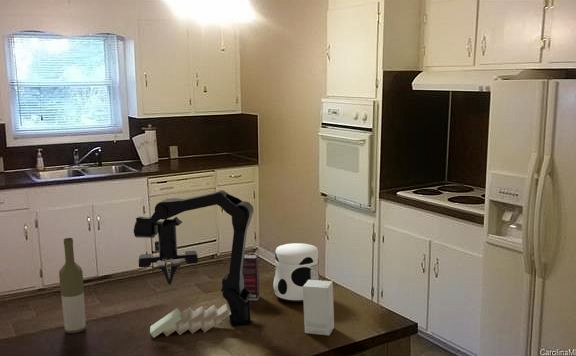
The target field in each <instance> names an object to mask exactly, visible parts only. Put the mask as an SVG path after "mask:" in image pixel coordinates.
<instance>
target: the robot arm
mask: <svg viewBox="0 0 576 356" xmlns="http://www.w3.org/2000/svg"><path fill="white" fill-rule="evenodd" d="M212 206H219V207H220V208H221V209H222V210H223V211H224V212H225V213H226V214H228V215H229V216H231V224H232V227H233V236H232V244H231V245H232V246H231V254H230V261H229V263H230V264H229V269H228V270H229V271H228V273H226V274H225V275H224V277H223V278H222V280H221V284H222V285H221V289H220V292H222V298H224V300H225V301H226V303H227V305H228V307H229V308H230V311H231V315H229V316H228V322H229V323H230V324H231V326H232V327H235V326H244V325H251V324H252V320H251V302H250V300H249V299H250V296H251V293H250V292H249V291H248V290H247V289H246V288H245V287H244V278H243V273H242V268H243V260H244V255H245V250H246V241H247V234H248V229H249V226H250V224H251V222H252V221H251V220H252V218H253V214H254V210H255V209H254V206H253V205H252V204H251V203H250V202H249V201H245V200H244V201H243V199H240V198H238V197H237V196H234V195H231V194H229V193H228V192H226V191H225V190H223V189H221V190H218V191H216V192H211V193H205V194H200V195H196V196H191V197H187V198H186V197H185V198H179V197H178V198H177V197H174V198H173V197H171V198H166V199H163V200H161V201H159V202H158V203H156V204H155V206H154V213H152V216H149V217H148V216H136V218H135V223H134V227H133V234H134V238H141V239H142V238H144V239H146V238H148V239H154V238H155V237H156V236H157V235H158V236H157V237H158V241H154V251H155V252H158V253H159V255H158V256H152V253H146V254H145V253H144V254H140V255H139V257H138V268H149V267H150V266H151V265H152V264H154V263H156V264H157V265H156V267H157V269H160V270H161V271H162V273H163V275H164V278H165V280H166V282H167V284H168V285H172V283H173V279H174V275H175V273H176V270H178V269H177V268H180V267H181V261H185V262H186V263H187V264H189V265H190V264H198V262H199V256H198V252H197V251H196V250H188V251H187V250H185V251H184V254H178V245H177V241H178V240H177V227H178V226H180V225H181V224H183V221H182V220H181V219H179V218H178V217H177V215H179V214H182V213H184V212H187V211H192V210H193V211H194V210H197V209H203V208H207V207H212ZM174 216H175V217H174ZM172 217H174V218H172ZM170 218H171V219H170ZM160 220H162V221H160ZM169 262H170V268H169V269H170V270H169V269H168V263H169ZM169 271H170V272H169Z"/></svg>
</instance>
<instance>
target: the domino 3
mask: <svg viewBox="0 0 576 356" xmlns="http://www.w3.org/2000/svg"><path fill="white" fill-rule="evenodd" d="M206 310H207V309H205V308H204V306H203V305H201V306H200V307H198V308H196V309H194V310H193V314H194V318H193V319H192V320H190V321H189V322H187V323H186V324H184V325H183V326H181V327H180V328H178V329H177V330H176V332H177V334H178V335H179V336H180V335H182V334H183V333H185V332H187V331H189V328H191V327H192V326H194V325H195V324H197V323H198V322H200V321H201V320H202V319H204V318H205V317H207V315H206Z"/></svg>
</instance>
